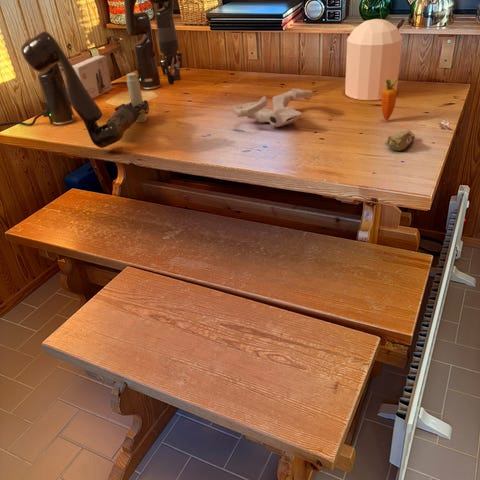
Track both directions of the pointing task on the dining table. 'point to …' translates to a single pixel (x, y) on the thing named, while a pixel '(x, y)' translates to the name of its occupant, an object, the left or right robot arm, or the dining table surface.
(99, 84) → the skincare box
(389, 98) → the carrot
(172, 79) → the right robot arm
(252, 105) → the beige irregular branched piece
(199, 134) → the dining table surface
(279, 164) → the dining table surface
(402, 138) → the rock
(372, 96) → the container
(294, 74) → the dining table surface
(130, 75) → the jar
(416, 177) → the dining table surface
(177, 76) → the lid
